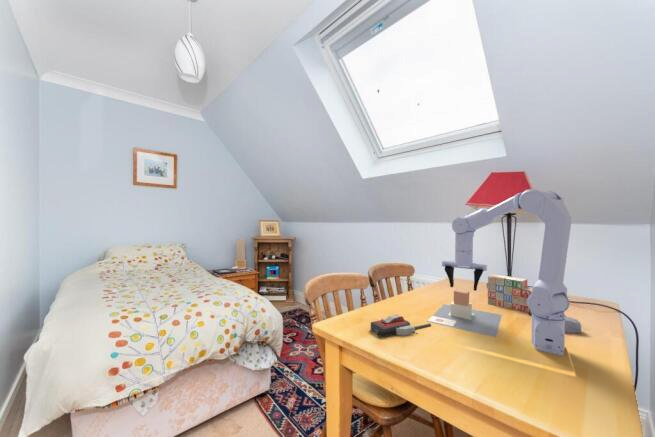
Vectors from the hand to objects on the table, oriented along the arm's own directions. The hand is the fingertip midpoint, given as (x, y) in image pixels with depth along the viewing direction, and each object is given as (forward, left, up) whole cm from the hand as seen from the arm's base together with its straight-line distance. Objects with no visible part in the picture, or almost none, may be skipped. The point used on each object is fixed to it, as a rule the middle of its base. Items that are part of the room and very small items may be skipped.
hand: (463, 288), depth 101 cm
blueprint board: (-3, -1, -10) cm, 11 cm away
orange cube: (0, +1, -6) cm, 6 cm away
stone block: (+10, -26, -11) cm, 30 cm away
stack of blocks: (+23, -17, -11) cm, 30 cm away
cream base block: (0, +1, -10) cm, 10 cm away
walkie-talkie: (-25, +14, -11) cm, 31 cm away
